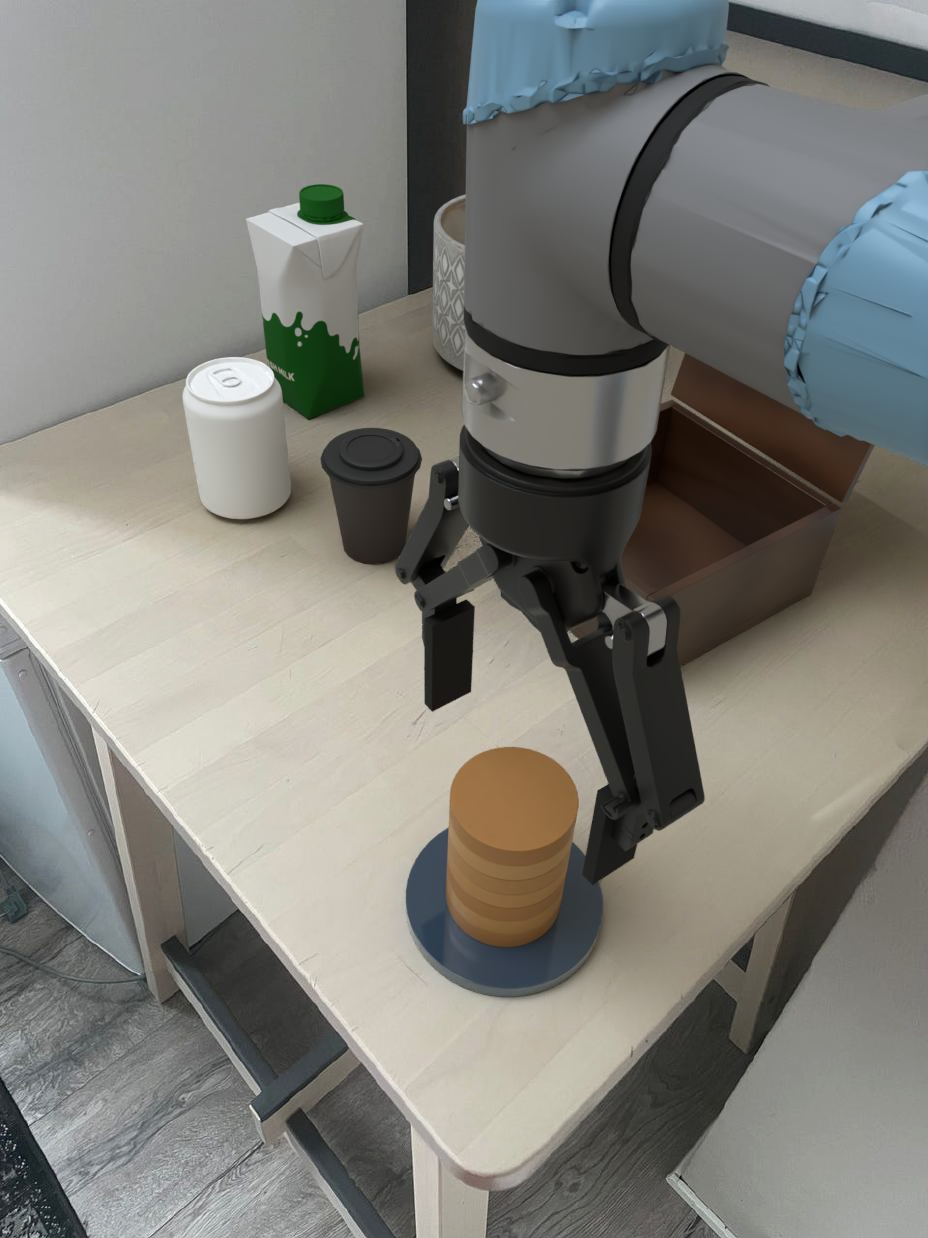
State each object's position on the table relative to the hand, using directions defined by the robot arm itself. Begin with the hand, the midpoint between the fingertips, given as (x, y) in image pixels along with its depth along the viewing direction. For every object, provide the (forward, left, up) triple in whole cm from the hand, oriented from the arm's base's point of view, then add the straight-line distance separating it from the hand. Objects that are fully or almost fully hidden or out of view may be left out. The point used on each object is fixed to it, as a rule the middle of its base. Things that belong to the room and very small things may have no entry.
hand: (522, 776), depth 54 cm
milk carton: (+58, -20, -13) cm, 63 cm away
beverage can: (+46, -6, -13) cm, 48 cm away
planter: (+54, -43, -13) cm, 71 cm away
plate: (0, 0, -13) cm, 13 cm away
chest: (+18, -29, -13) cm, 37 cm away
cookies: (0, 0, -12) cm, 12 cm away
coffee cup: (+34, -12, -13) cm, 39 cm away
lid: (+18, -41, +7) cm, 45 cm away
